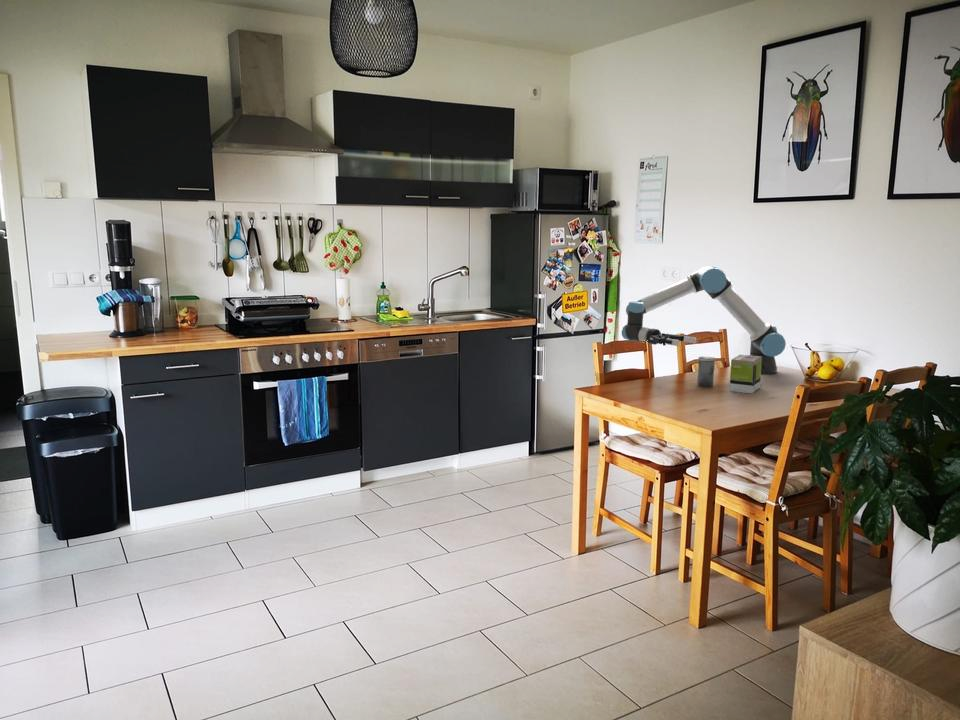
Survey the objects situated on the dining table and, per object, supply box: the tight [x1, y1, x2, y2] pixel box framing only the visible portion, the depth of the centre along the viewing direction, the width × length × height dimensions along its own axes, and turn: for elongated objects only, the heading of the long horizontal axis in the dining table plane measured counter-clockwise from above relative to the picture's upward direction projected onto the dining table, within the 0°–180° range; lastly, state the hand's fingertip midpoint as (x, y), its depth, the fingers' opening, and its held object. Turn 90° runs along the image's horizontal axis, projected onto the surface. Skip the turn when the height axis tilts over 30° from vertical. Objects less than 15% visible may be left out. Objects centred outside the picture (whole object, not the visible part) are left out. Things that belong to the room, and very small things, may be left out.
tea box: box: [729, 354, 762, 394], centre depth 321 cm, size 15×10×15 cm
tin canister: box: [696, 356, 716, 388], centre depth 328 cm, size 7×7×13 cm
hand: (687, 341), depth 333 cm, fingers open, 13 cm apart
